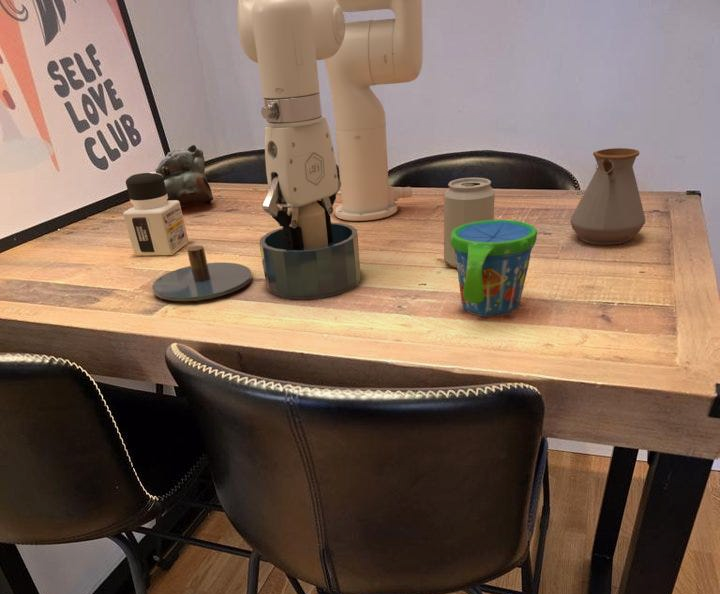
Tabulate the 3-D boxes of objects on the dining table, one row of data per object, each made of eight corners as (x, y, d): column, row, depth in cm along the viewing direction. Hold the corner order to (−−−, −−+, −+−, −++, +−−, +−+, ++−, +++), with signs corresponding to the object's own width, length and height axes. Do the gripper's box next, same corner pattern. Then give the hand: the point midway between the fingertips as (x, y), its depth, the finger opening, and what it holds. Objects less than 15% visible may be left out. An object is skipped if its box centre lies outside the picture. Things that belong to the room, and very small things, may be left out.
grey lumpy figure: (141, 214, 144) (129, 149, 142) (181, 222, 154) (171, 161, 152) (188, 195, 136) (177, 126, 134) (227, 205, 146) (217, 141, 144)
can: (495, 255, 104) (499, 174, 97) (487, 271, 98) (490, 187, 91) (449, 254, 106) (450, 175, 99) (438, 269, 100) (438, 187, 93)
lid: (242, 263, 111) (235, 227, 107) (262, 292, 99) (255, 252, 95) (149, 280, 107) (139, 244, 103) (159, 312, 95) (148, 272, 91)
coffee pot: (574, 226, 113) (586, 130, 104) (645, 229, 109) (663, 129, 100) (550, 267, 98) (561, 158, 89) (631, 272, 93) (651, 158, 84)
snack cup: (478, 283, 94) (481, 210, 88) (549, 293, 89) (556, 216, 83) (428, 323, 84) (426, 244, 78) (504, 337, 79) (509, 253, 73)
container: (172, 255, 117) (153, 178, 110) (133, 256, 119) (112, 180, 111) (189, 242, 123) (172, 168, 116) (152, 243, 125) (133, 170, 117)
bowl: (343, 260, 108) (339, 216, 104) (374, 287, 96) (371, 239, 92) (258, 277, 104) (250, 232, 100) (280, 306, 93) (272, 258, 89)
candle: (294, 265, 101) (285, 198, 96) (329, 262, 102) (322, 194, 96) (294, 277, 97) (285, 207, 91) (331, 273, 97) (324, 203, 91)
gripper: (266, 122, 80) (287, 269, 90) (355, 101, 90) (365, 235, 100) (226, 121, 84) (251, 261, 94) (316, 101, 94) (329, 229, 104)
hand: (309, 246), depth 97 cm, fingers closed on candle, 5 cm apart
